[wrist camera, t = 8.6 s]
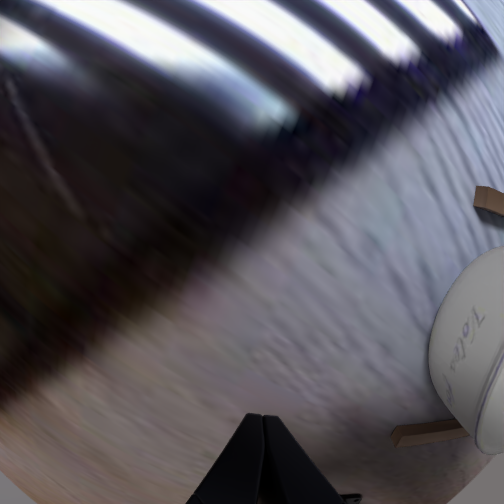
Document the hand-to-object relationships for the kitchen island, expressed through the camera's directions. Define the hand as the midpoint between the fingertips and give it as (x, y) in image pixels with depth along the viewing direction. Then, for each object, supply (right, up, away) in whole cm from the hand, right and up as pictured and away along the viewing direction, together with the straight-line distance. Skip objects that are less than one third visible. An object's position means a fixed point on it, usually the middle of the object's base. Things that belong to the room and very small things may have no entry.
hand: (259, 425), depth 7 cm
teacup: (+15, -1, +9) cm, 18 cm away
